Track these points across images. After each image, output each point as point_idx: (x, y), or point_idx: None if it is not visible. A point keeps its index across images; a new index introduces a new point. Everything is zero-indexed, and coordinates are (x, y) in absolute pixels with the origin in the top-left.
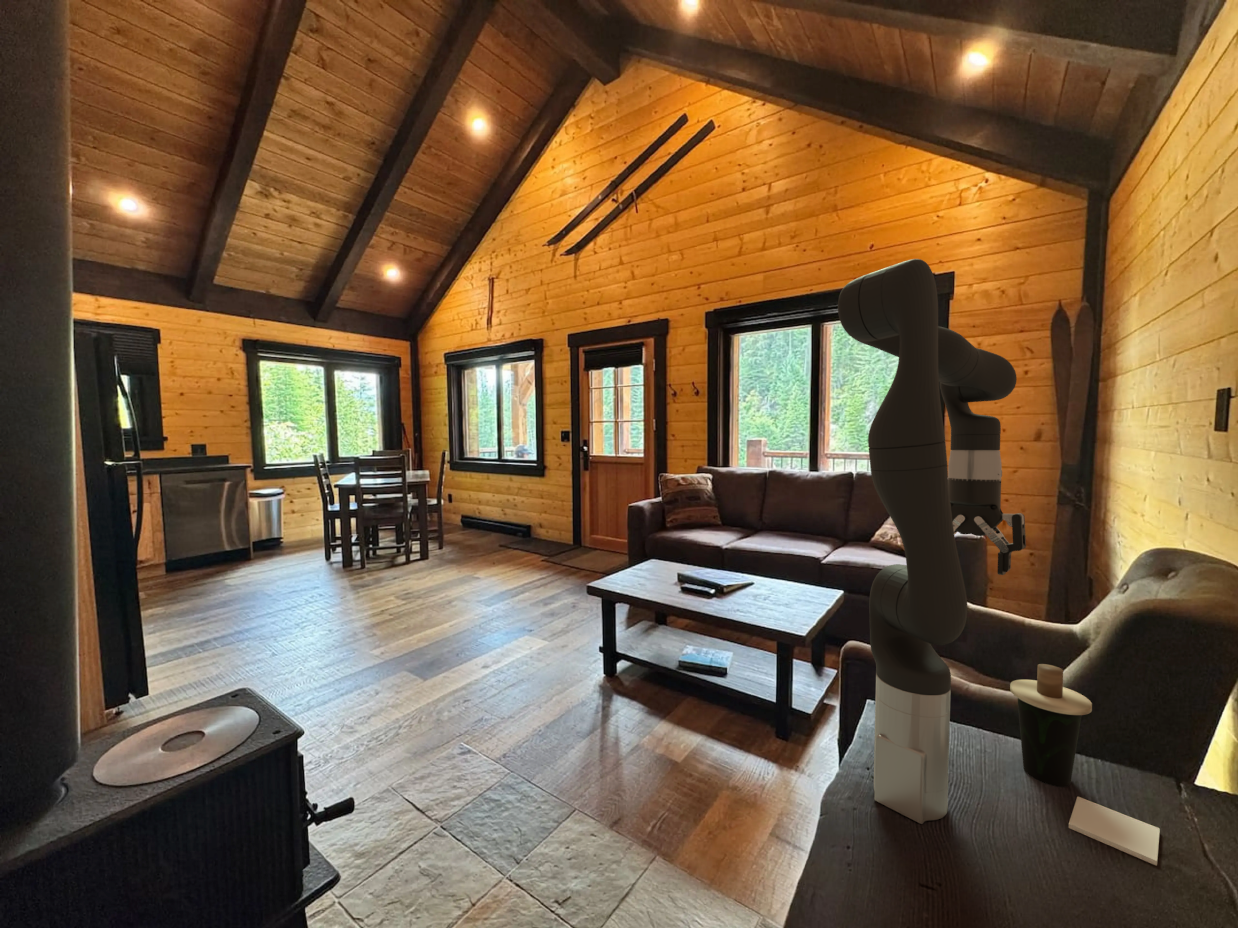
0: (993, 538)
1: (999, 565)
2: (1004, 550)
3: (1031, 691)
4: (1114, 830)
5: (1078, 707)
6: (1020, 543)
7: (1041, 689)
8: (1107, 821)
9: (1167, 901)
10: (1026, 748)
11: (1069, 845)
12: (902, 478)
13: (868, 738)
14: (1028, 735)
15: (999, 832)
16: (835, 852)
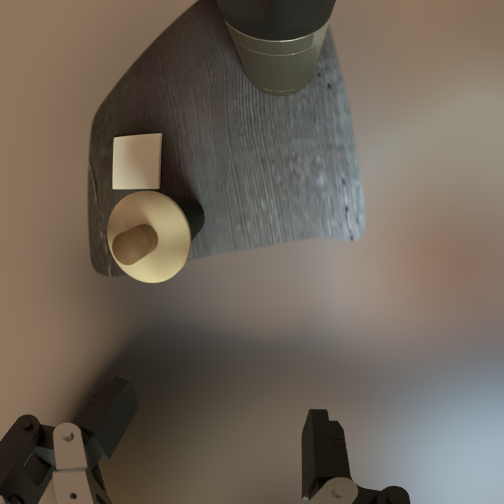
0: (71, 473)
1: (111, 395)
2: (65, 427)
3: (162, 226)
4: (134, 154)
5: (115, 216)
6: (12, 430)
7: (148, 228)
8: (138, 164)
9: (114, 101)
10: (191, 205)
11: (160, 108)
12: None
13: (351, 148)
14: (183, 203)
15: (205, 78)
16: None
